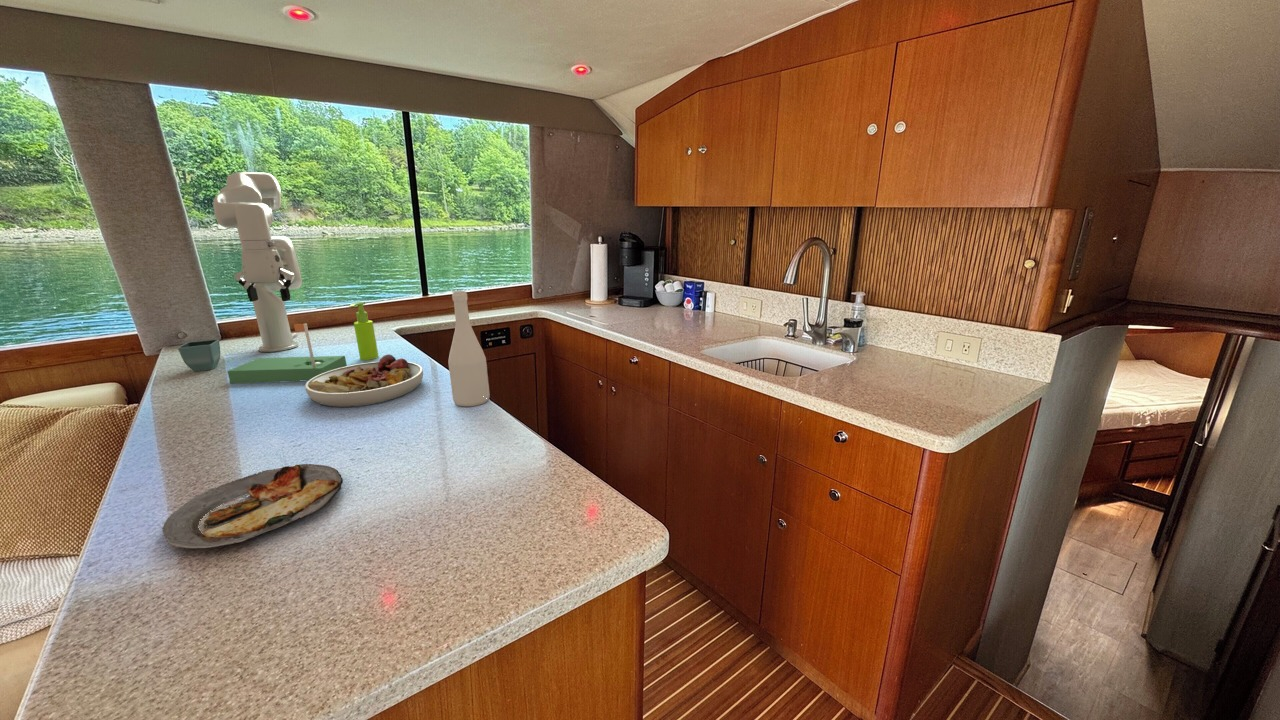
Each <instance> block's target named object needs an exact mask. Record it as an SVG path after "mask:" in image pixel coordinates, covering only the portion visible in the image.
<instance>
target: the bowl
mask: <svg viewBox="0 0 1280 720" xmlns="http://www.w3.org/2000/svg"><path fill="white" fill-rule="evenodd" d="M423 369H424V368H423V367H422V365H420V364H418V363H415V362H411V361H407V360H406V359H404V358H398V359H396V357H395V356H393V355H392V354H386V355H383V356H382V357H381V358H380V359H379V361H370V362H364V363H356V364H352V365H347V366H346V367H342V368H338V369H334V370H331V371H327V372H325V373H322V374H319V375H317V376H315V377H313V378H312V379H310V380H309V381H306V382H305V385H304V388H305V392H306V394H307V395H308V397H309V398H310V399H311V400H313V401H314V402H315V403H317V404H320V405H323V406H328V407H335V408H336V407H338V408H348V407H351V406H353V407H360V406H361V407H363V406H368V405H375V404H379V403H383V402H384V403H385V402H387V401H391V399H392V400H394V399H397V397H398V398H400V397H402V396H405V395H407V394H409V393H410V392H412V391H413V390H415V389H417V387H418V386H419V385H420V384H421V383H422V380H423V378H424V370H423ZM351 408H352V407H351Z"/></svg>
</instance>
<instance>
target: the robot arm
mask: <svg viewBox="0 0 1280 720" xmlns="http://www.w3.org/2000/svg"><path fill="white" fill-rule="evenodd" d="M212 204H213V212H214V216H215V219H216V222H217V223H218V224H219V225H220V226H221V227H222V228H227V229H237V233H238V237H239V242H240V245H241V246H240V247H241V266H242V267H241V268H242V270H240V271H238V272H236V273H234V275H233V277H234V278H235V280H236V281H238V284H240V285H241V286H242V287H243V289H244V290H246V294H247V298H248V299H249V302H250V303H251V302H252V304H253V308H254V313H255V317H256V321H257V325H258V326H257V327H258V330H259V334H260V337H261V342H262V345H260V346H259V347H258V351H259V352H262V353H273V352H274V353H275V352H281V351H286V350H291V349H295V348H297V347H298V346H299V343H298V342H297V341H294V339H295V338H298V334H297V332H293V333H292V332H291V327H290V323H289V320H288V314H287V311H286V310H287V309H286V304H285V302H287V301H291V293H290V290H298V289H299V288H301V287H302V285H303V279H302V275H301V270H300V266H299V265H300V264H299V261H298V257H297V253H296V249H295V245H294V244H293V241H292V240H291V239H290V238H289V237H287V236H282V235H275V236H274V235H271V230H270V226H271V225H272V223H273V222H274V213H273V211H277V210H279V209H280V208H281V206H282V194H281V186H280V184H279V181H278V180H277V178H276V177H275V176H274V175H272V174H270V173H268V172H251V171H250V172H247V171H240V172H239V171H237V172H233V173H230V174H229V175H228V176H227V178H226V186H225V187H222V188H221V189H220V190H219V193H218V194H216V195H215V196H214V198H213V203H212ZM278 291H279V293H280V296H281V297H280V296H279V295H277V294H276V293H274V292H278Z"/></svg>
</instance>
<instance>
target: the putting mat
mask: <svg viewBox="0 0 1280 720" xmlns="http://www.w3.org/2000/svg"><path fill="white" fill-rule="evenodd" d="M293 326H294V331H295V332H294V333H297V332H304V333H305V339H306V343H307V348H308V352H309V356H294V357H293V356H290V357H257V358H256V359H252V360H250V361H249V362H246V363H243V364H242V365H239V366H237V367H234V368H232V369H229V370H227V376H228V378H229V383H230V384H252V383H253V384H254V383H255V382H259V383H281V382H280V381H292V382H301V381H300V380H310V379H312V378H313V377H315V376H317V375H319V374H322V373H325V372H327V371H331V370H334V369H338V368H342V367H346V366H348V365H347V360H346V355H331V356H329V355H327V356H326V355H325V356H323V355H322V356H314V352H313V348H312V343H311V338H310V333H309V329H308V324H307V323H296V324H293ZM315 362H320V363H318V364H315Z"/></svg>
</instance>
